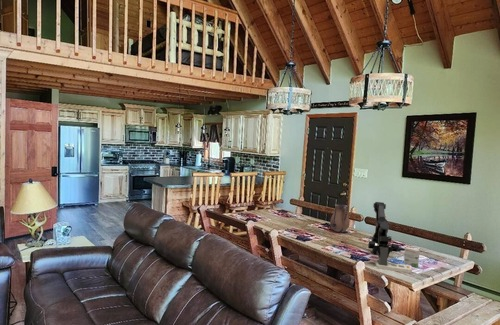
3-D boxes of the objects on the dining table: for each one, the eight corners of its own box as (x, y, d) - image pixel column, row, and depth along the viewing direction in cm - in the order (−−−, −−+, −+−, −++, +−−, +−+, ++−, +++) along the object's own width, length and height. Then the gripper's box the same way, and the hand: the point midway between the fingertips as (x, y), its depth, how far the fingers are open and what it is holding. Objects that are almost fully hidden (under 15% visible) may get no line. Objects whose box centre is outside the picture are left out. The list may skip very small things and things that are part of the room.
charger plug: (379, 267, 222) (380, 248, 222) (378, 265, 227) (380, 246, 226) (386, 268, 221) (388, 249, 221) (385, 266, 226) (387, 247, 225)
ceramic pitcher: (341, 228, 330) (343, 203, 328) (354, 234, 310) (356, 207, 308) (326, 229, 324) (327, 203, 323) (338, 235, 304) (340, 207, 303)
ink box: (418, 266, 233) (420, 249, 232) (416, 268, 229) (417, 250, 228) (405, 262, 238) (407, 246, 238) (403, 264, 235) (404, 247, 234)
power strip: (376, 269, 221) (377, 264, 220) (375, 265, 229) (375, 259, 229) (411, 274, 216) (411, 269, 215) (408, 269, 224) (409, 264, 224)
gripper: (370, 229, 229) (370, 249, 219) (399, 232, 224) (401, 253, 214) (367, 237, 237) (368, 258, 227) (396, 241, 232) (397, 262, 222)
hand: (383, 257), depth 222 cm, fingers closed on charger plug, 4 cm apart
